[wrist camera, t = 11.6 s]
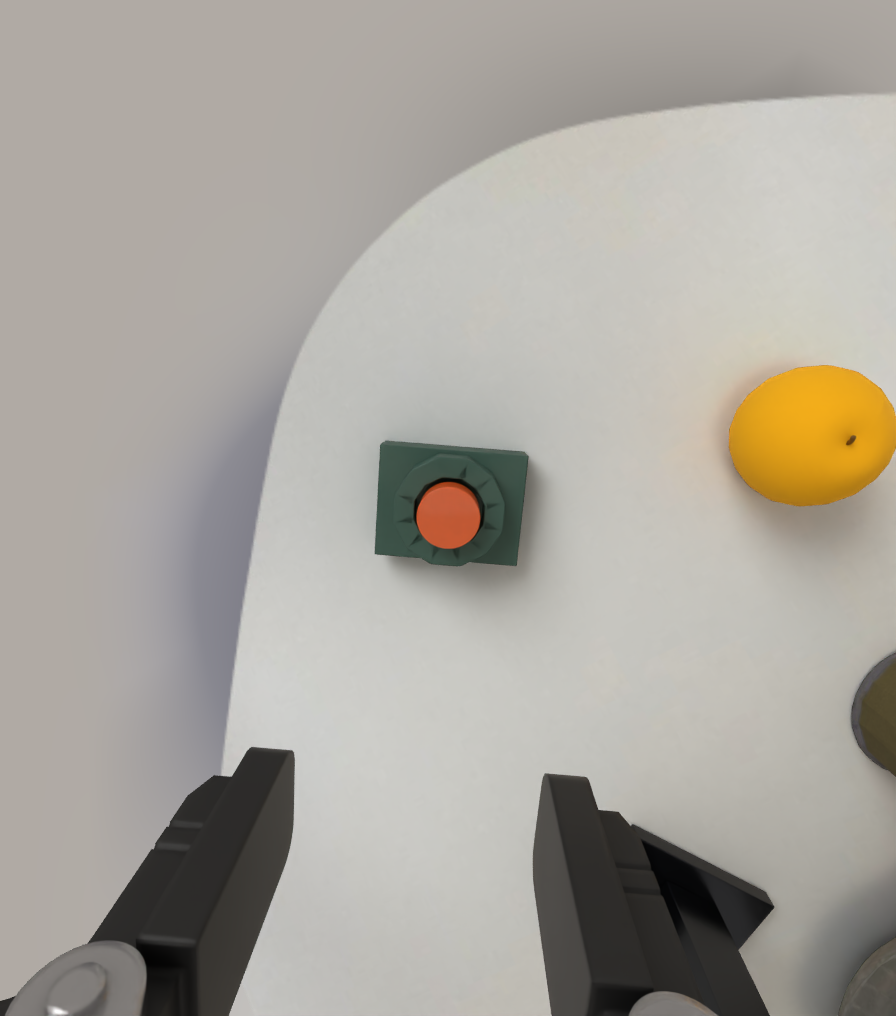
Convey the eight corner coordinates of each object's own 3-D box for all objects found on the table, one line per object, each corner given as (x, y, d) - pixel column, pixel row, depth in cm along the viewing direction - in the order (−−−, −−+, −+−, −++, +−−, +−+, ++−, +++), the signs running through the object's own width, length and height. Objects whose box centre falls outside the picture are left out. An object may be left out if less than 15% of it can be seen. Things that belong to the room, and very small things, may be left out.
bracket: (568, 908, 43) (610, 1121, 31) (632, 823, 41) (704, 1012, 29) (698, 972, 44) (790, 1203, 32) (765, 891, 42) (891, 1103, 30)
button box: (379, 544, 37) (369, 563, 33) (385, 440, 36) (375, 447, 32) (513, 555, 37) (519, 575, 33) (524, 451, 36) (532, 459, 32)
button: (417, 538, 33) (414, 546, 32) (421, 479, 33) (418, 484, 31) (476, 543, 33) (477, 551, 32) (482, 484, 33) (483, 489, 31)
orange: (743, 516, 36) (813, 549, 29) (689, 411, 35) (748, 417, 28) (860, 453, 35) (964, 470, 28) (809, 341, 34) (904, 329, 26)
